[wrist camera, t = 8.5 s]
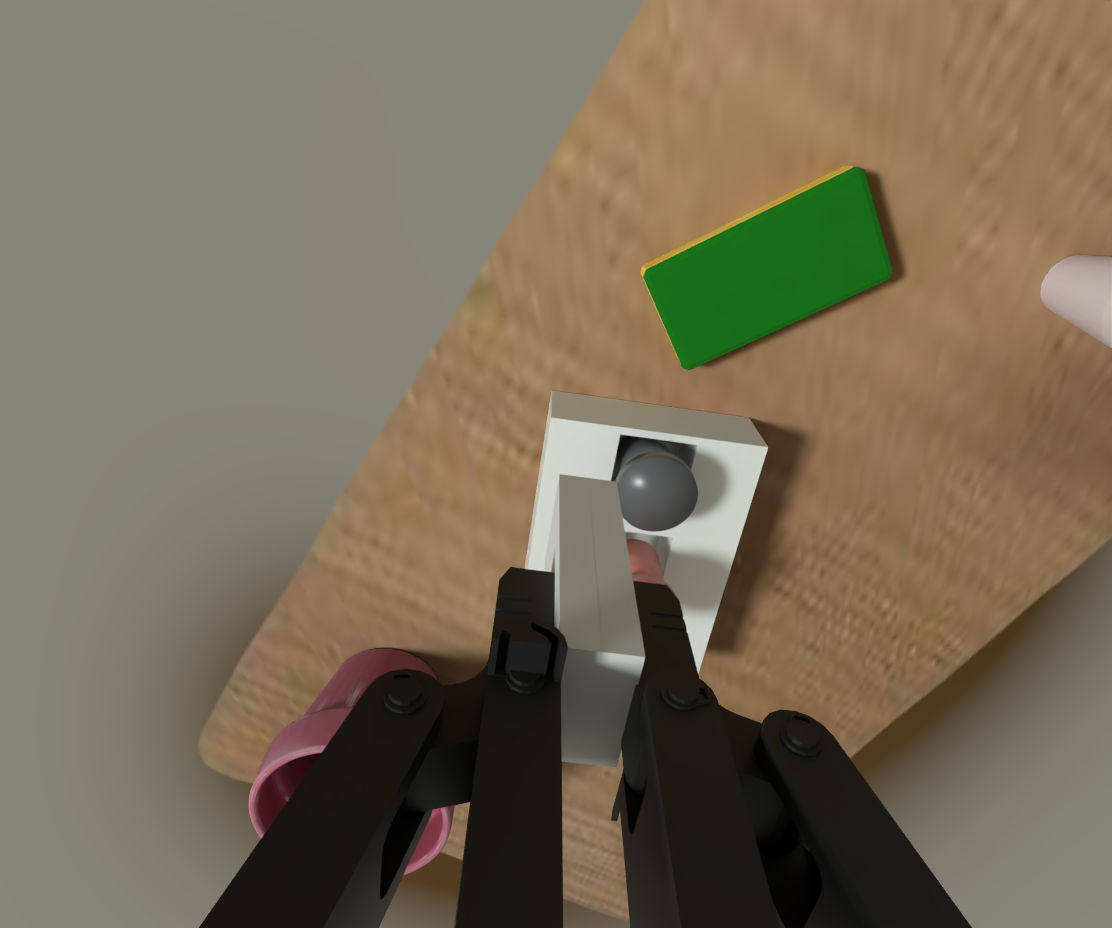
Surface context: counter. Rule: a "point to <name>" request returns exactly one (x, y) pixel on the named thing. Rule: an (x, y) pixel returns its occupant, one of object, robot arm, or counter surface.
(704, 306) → the dish sponge
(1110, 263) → the smoothie
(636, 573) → the pink round knob
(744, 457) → the mount
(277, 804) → the plant pot
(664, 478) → the knob
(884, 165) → the counter surface
